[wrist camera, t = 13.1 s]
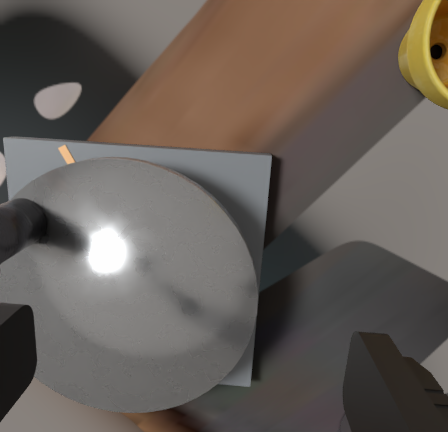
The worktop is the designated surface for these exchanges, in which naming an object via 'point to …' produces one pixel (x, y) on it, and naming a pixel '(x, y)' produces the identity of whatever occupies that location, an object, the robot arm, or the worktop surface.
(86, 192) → the handwheel
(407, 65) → the plant pot
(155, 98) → the worktop surface
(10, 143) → the wheel base
